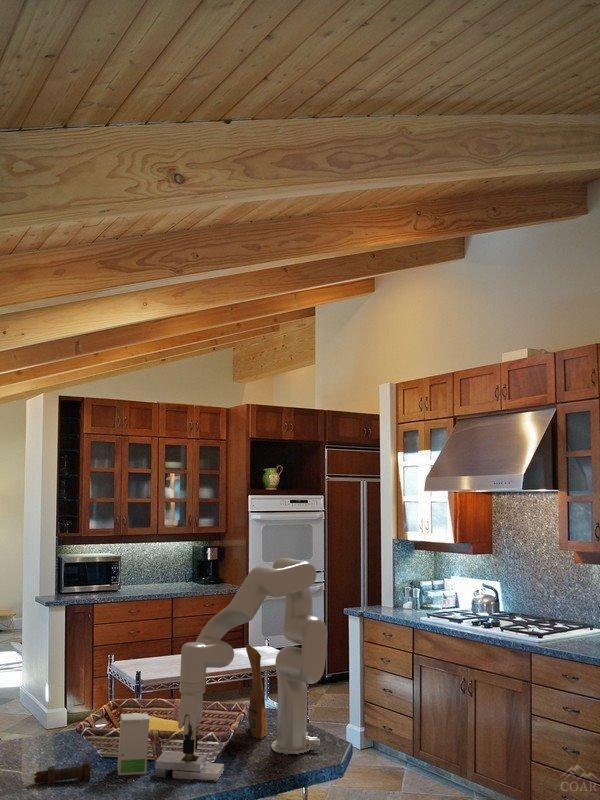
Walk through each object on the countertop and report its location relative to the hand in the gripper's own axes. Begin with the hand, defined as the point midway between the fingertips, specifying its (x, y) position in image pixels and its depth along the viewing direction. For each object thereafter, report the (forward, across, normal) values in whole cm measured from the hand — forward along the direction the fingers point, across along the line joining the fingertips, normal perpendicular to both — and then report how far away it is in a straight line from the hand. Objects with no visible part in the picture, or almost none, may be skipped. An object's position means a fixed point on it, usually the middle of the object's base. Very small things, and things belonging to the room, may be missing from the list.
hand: (190, 750), depth 235 cm
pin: (+3, 0, 0) cm, 3 cm away
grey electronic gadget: (+7, 0, 0) cm, 7 cm away
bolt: (+7, +12, -33) cm, 36 cm away
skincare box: (+7, +1, -17) cm, 18 cm away
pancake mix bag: (+6, -41, +12) cm, 43 cm away
